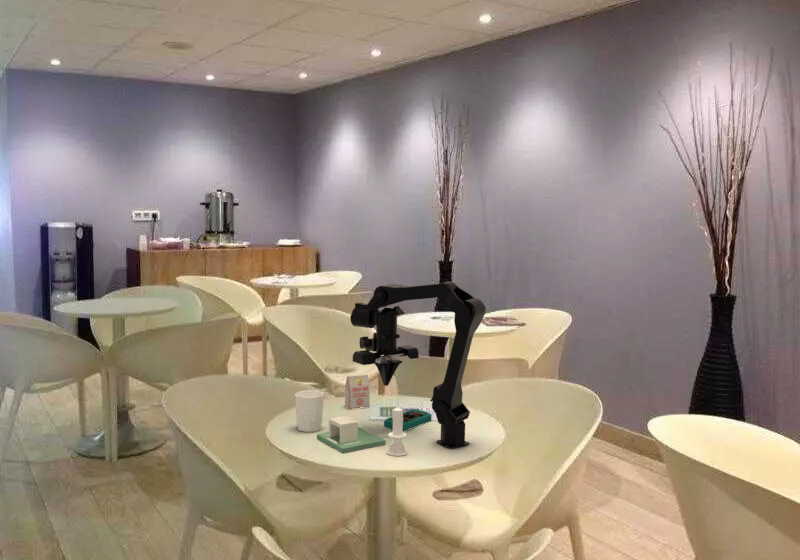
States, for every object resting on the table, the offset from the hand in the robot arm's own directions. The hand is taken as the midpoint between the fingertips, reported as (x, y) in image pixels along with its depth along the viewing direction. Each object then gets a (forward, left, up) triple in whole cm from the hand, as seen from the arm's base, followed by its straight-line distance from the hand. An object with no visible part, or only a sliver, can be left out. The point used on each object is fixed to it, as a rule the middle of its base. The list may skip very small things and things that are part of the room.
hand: (385, 385), depth 208 cm
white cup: (+13, +17, -13) cm, 25 cm away
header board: (-3, +13, -13) cm, 19 cm away
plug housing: (-3, +15, -12) cm, 20 cm away
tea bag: (+25, -6, -13) cm, 29 cm away
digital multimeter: (+2, -9, -14) cm, 17 cm away
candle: (-17, +7, -13) cm, 23 cm away
